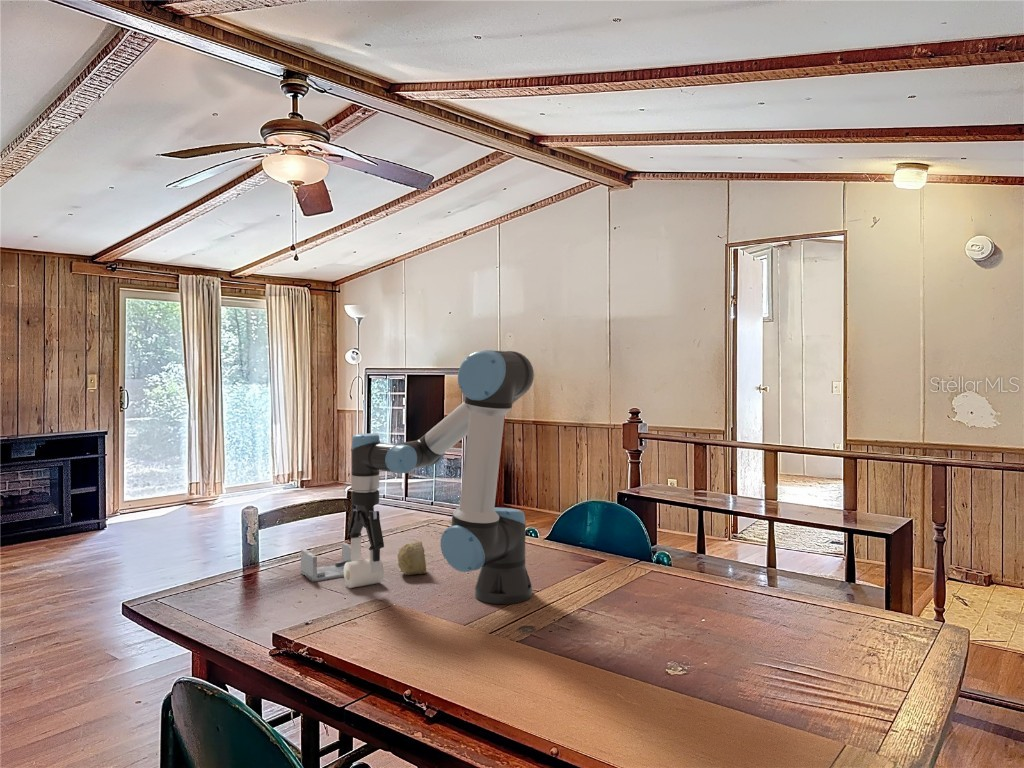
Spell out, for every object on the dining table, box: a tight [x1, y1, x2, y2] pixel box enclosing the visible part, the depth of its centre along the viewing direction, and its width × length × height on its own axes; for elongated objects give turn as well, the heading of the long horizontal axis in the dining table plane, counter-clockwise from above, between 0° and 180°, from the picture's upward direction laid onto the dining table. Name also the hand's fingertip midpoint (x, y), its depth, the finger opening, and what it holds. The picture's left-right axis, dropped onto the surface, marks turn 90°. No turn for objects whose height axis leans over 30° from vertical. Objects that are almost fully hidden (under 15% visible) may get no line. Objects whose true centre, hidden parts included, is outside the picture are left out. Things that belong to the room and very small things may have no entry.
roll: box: [343, 558, 385, 589], centre depth 197 cm, size 9×7×7 cm
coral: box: [397, 540, 428, 576], centre depth 207 cm, size 10×10×10 cm
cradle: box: [300, 542, 352, 583], centre depth 208 cm, size 14×11×7 cm
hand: (365, 566), depth 195 cm, fingers open, 13 cm apart
